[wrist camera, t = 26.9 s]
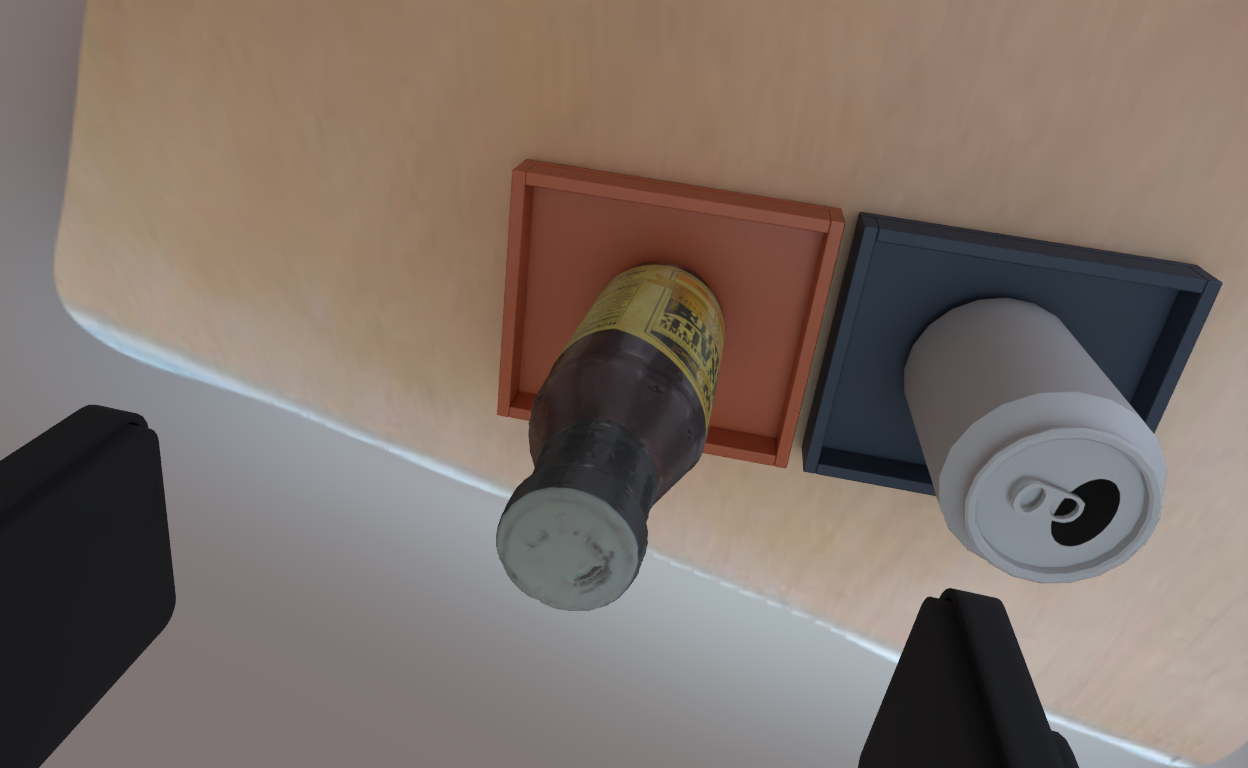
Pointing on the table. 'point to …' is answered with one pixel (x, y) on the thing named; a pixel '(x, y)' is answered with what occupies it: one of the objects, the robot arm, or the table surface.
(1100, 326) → the charcoal tray
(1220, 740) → the table surface
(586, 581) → the sauce bottle
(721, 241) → the terracotta tray
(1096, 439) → the can
